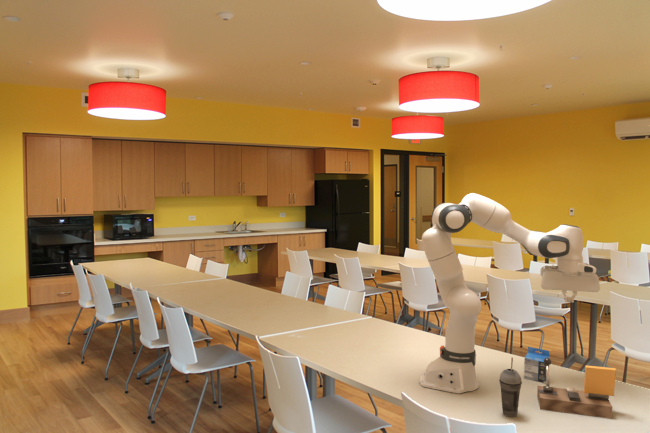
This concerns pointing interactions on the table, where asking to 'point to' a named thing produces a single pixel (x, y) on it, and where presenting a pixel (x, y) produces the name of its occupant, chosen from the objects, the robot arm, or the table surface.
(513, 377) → the beverage cup
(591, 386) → the orange paddle
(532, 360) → the label tape box
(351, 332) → the table surface
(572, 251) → the robot arm
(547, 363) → the steel toggle lever
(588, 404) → the control panel
